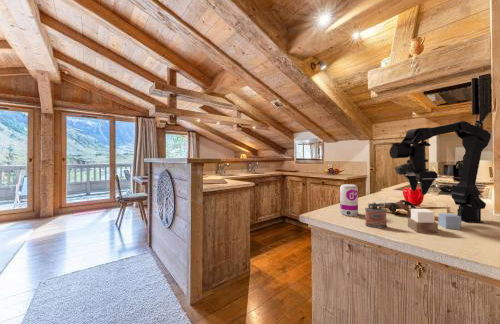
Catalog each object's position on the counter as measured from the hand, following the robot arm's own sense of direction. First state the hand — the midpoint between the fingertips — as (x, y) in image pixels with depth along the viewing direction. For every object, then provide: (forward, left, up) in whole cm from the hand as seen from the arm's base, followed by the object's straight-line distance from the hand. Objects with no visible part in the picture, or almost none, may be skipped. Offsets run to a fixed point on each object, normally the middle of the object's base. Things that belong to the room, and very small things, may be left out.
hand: (418, 192), depth 97 cm
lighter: (+20, +9, -13) cm, 25 cm away
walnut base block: (+4, +11, -13) cm, 17 cm away
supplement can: (+27, -9, -13) cm, 31 cm away
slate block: (-8, +6, -13) cm, 16 cm away
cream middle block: (+4, +11, -9) cm, 15 cm away
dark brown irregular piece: (+3, -11, -13) cm, 18 cm away
